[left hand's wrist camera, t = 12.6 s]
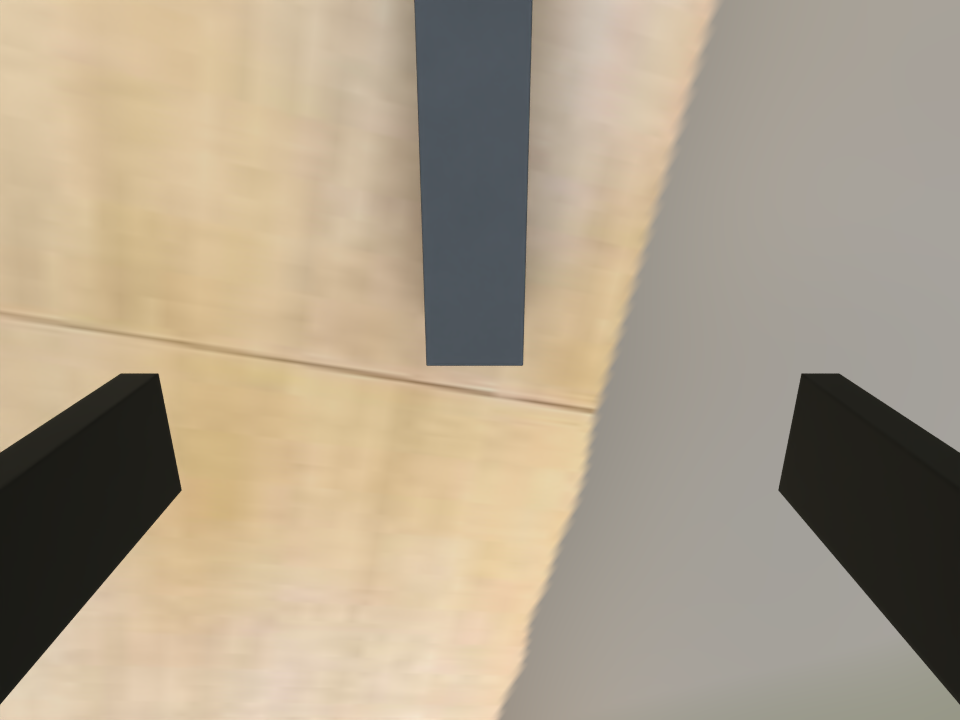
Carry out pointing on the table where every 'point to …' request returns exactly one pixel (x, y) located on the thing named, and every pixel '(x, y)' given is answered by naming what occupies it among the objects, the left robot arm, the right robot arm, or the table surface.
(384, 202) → the table surface
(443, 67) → the bar
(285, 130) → the table surface
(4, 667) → the left robot arm
